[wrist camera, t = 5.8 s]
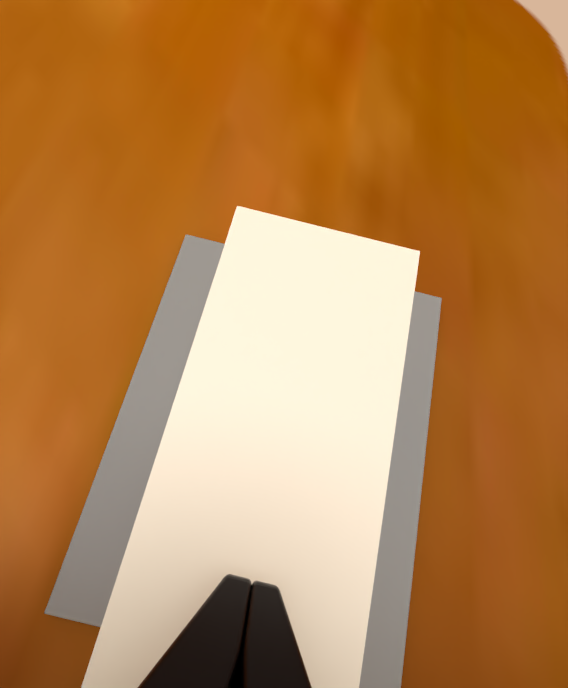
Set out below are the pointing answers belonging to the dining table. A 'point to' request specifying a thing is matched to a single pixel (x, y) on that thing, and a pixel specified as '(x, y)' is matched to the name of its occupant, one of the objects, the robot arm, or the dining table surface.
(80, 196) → the dining table surface
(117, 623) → the white rectangular block
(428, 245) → the dining table surface
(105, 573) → the mat
